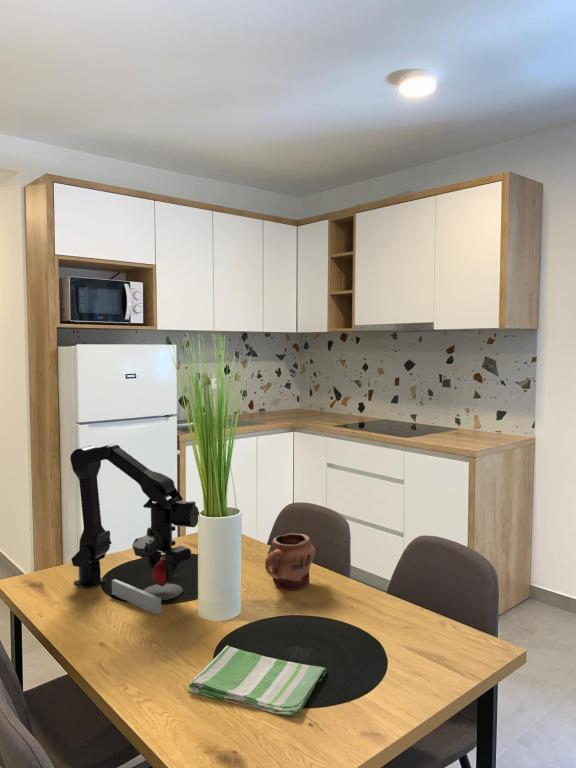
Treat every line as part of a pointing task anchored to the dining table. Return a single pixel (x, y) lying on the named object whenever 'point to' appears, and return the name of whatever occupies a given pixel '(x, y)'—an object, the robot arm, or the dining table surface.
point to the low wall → (136, 596)
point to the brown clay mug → (290, 560)
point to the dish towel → (257, 681)
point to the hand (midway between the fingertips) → (162, 579)
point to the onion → (159, 573)
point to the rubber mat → (165, 591)
